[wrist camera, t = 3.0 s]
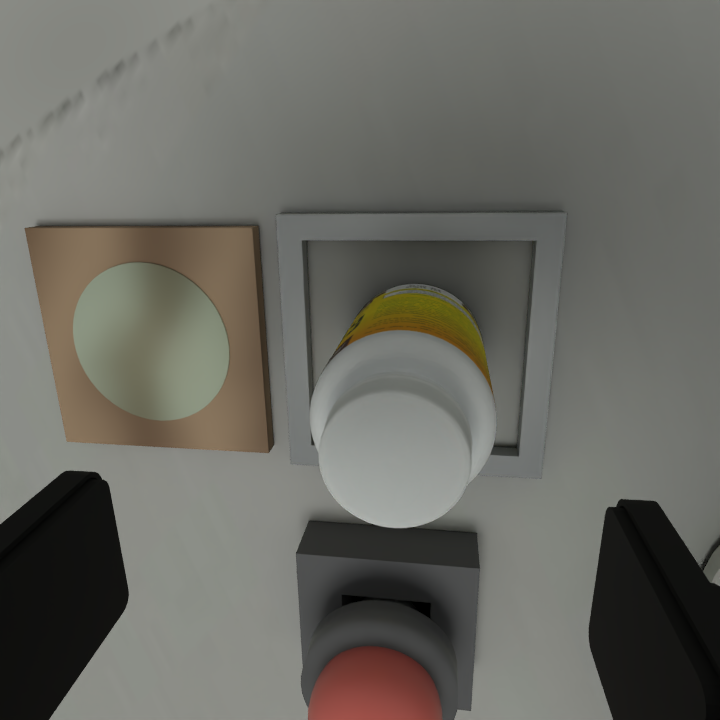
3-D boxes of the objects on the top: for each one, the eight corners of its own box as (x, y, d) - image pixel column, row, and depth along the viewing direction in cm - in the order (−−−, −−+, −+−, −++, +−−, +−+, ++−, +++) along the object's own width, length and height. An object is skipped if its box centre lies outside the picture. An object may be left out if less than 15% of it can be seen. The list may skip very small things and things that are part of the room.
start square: (563, 211, 21) (567, 212, 21) (538, 469, 25) (541, 478, 24) (281, 212, 23) (275, 214, 22) (295, 455, 26) (290, 464, 26)
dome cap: (459, 567, 25) (464, 725, 18) (454, 677, 27) (456, 860, 20) (319, 555, 26) (270, 702, 19) (323, 663, 28) (281, 833, 21)
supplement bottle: (361, 269, 23) (301, 338, 14) (496, 294, 23) (532, 385, 13) (341, 392, 25) (275, 530, 16) (465, 418, 25) (477, 577, 15)
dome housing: (476, 533, 26) (479, 568, 24) (468, 667, 29) (470, 710, 26) (308, 520, 27) (296, 553, 25) (315, 650, 30) (304, 691, 28)
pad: (258, 226, 23) (251, 228, 22) (273, 445, 26) (267, 454, 26) (37, 226, 25) (23, 228, 24) (77, 434, 28) (65, 442, 27)
